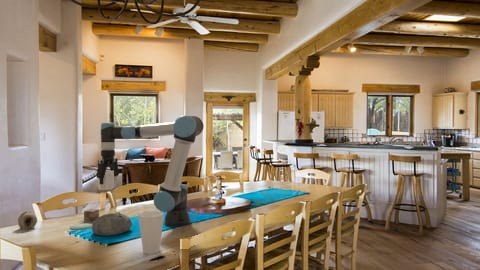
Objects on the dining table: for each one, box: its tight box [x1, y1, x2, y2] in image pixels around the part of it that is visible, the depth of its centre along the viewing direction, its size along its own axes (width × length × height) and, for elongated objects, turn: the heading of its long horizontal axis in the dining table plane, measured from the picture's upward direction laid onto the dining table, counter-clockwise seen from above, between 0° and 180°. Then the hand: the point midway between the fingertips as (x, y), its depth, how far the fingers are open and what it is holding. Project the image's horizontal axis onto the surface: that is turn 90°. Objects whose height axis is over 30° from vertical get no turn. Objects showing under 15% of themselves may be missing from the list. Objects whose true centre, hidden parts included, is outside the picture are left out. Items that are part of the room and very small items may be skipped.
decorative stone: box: [91, 211, 133, 236], centre depth 189 cm, size 18×21×10 cm
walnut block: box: [83, 208, 100, 221], centre depth 215 cm, size 6×6×6 cm
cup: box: [138, 210, 165, 255], centre depth 159 cm, size 11×10×17 cm
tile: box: [78, 218, 94, 224], centre depth 215 cm, size 11×11×1 cm
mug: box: [97, 169, 114, 191], centre depth 202 cm, size 9×12×11 cm
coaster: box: [69, 222, 93, 231], centre depth 199 cm, size 12×12×1 cm
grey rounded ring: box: [17, 211, 38, 231], centre depth 197 cm, size 9×8×10 cm
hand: (108, 188), depth 202 cm, fingers closed on mug, 9 cm apart
